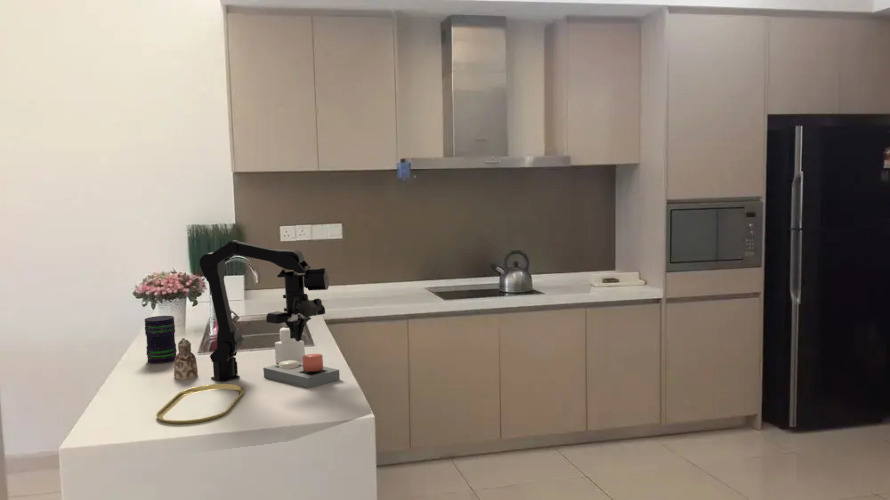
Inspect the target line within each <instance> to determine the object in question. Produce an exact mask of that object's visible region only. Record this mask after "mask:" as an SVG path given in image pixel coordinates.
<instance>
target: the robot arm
mask: <svg viewBox="0 0 890 500" xmlns="http://www.w3.org/2000/svg"><path fill="white" fill-rule="evenodd" d="M236 255H238V256H242V257H248V258H252V259H256V260H261V261H264V262H265V261H266V262H270V263H271V264H274V265H275V266H277V267H280V268H282V269H281V271H280V272H279V273H278V274H277V276H276V277H277V278H283V279H284V291H285V292H284V293H285V294H283V295H282V298H283V299H285V304H286V305H285V307H284V308H283V311H273V312H268V313H267V315H266V317H265V320H266V323H268V324H283V323H284V324H285V325H286V327H288V328H289V329H290V331H291V333H292V334H293V336H294V338H295V340H296V341H302V340H301V339H302V336H303V332H304V329H305V327H306V324H307V323H308V321H310V320H311V319H312V317H313V316H314V317H315V316H316V317H317V316H321V315H325V314H326V308H325V306H324V305H323V303H322V301H323V300H322V299H320V298H319V297H318V298H315V299H311V300H310V299H309V296H308V293H305V289H307V290H308V291H328V290H329V285H330V277H329V276H328V273H327V272H328V271H327V268H326V267H319V268H312V267H311V266H310V265H309V263H307V261H306V260H305V256H304V255H303V252H302V251H300V250H299V249H291V248H290V249H289V248H288V249H287V248H283V249H281V248H280V249H279V248H276V249H275V248H271V247H266V246H262V245H257V244H252V243H247V242H244V241H243V242H242V241H240V240H238V239H235V240H231V241H228V242H227V243H226V244H224V245H223V246H222V247H220V248H218V249H217V250H215V251H213V252H209V253H205V254H203V255H202V256H201V258H200V259H199V262H198V264H199V268H200V270H201V273H202V275H203V278H205V280H206V281H207V284H208V286H209V290H210V295H211V300H212V304H213V310H214V314H215V318H216V323H217V333H216V349H215V350H214V351H213V352H212V353H211V354H210V355H209V358H210V360H211V362H212V364H213V365H212V369H213V376H211V377H210V379H211V380H213V381H219V382H226V381H231V380H233V379H237V378H238V379H239V378H240V375H238V374H239V372H238V369H239V368H238V361H237V357H236V356H237V354H238V351H240V350H241V348H242V346H243V342H244V338H243V336H242V334H243V333H242V328H241V327H240V328H236V326H235V324H234V322H233V318H232V312H231V307H230V303H229V299H228V293H227V289H226V283H225V274H226V262H227V261H229V260H230V259H232V258H233V257H235V256H236Z"/></svg>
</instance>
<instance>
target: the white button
mask: <svg viewBox="0 0 890 500" xmlns="http://www.w3.org/2000/svg"><path fill="white" fill-rule="evenodd" d="M296 367H299V362H298V361H295V360H289V361H283V362H280V363H279V368H281V369H286V370H288V369H292V368H296Z"/></svg>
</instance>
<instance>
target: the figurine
mask: <svg viewBox="0 0 890 500" xmlns="http://www.w3.org/2000/svg"><path fill="white" fill-rule="evenodd" d="M191 345H192V343H191V342H190V341H189V340H188V339H186V338H185V337H184V338H181V340H180V341H179V342H178V343H177V349H178V350H177V351H178V353H176V357H175V361H174V369H173V376H174V377H173V378H174V379H175V380H190V379H195V378H197V377H198V374H199V372H198V364H197V358H196V356H195V354H194V353H193V352H192V346H191Z"/></svg>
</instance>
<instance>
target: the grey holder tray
mask: <svg viewBox="0 0 890 500" xmlns="http://www.w3.org/2000/svg"><path fill="white" fill-rule="evenodd" d="M295 361H296V360H295ZM298 362H299V367H296V368H292V369H288V370H286V369H281V368H279V364H277V363H276V364H273V365H269V366H266V367H263V378H266V379H270V380H275V381H278V382H281V383H287V384H290V385H293V386H298V387H302V388H305V389H310V388H311V389H312V388H315V387H318V386H321V385H324V384H325V385H326V384H328V383H332V382H335V381H340V379H341V378H340V377H341V376H340V369H338V368H337V369H336V368H332V367H327V366H324V365H323V369H322V370H319V371H304V370H303V362H300V361H298Z"/></svg>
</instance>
